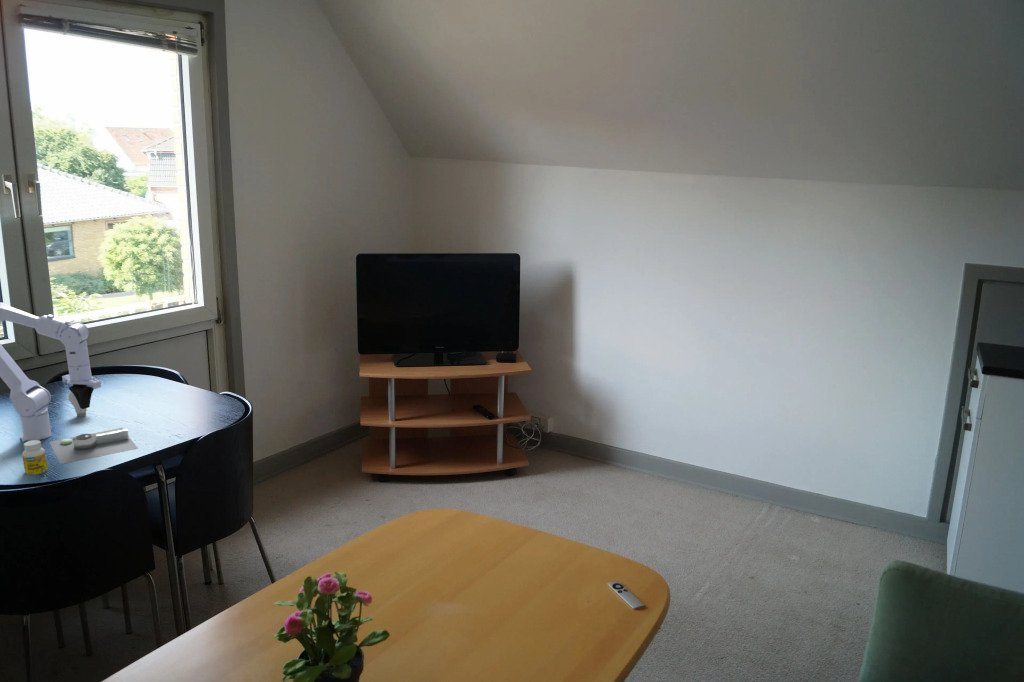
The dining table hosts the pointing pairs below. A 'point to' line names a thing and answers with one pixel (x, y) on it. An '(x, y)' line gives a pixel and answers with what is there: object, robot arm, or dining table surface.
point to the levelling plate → (69, 454)
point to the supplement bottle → (34, 458)
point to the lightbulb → (76, 405)
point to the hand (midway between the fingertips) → (85, 407)
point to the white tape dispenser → (98, 439)
